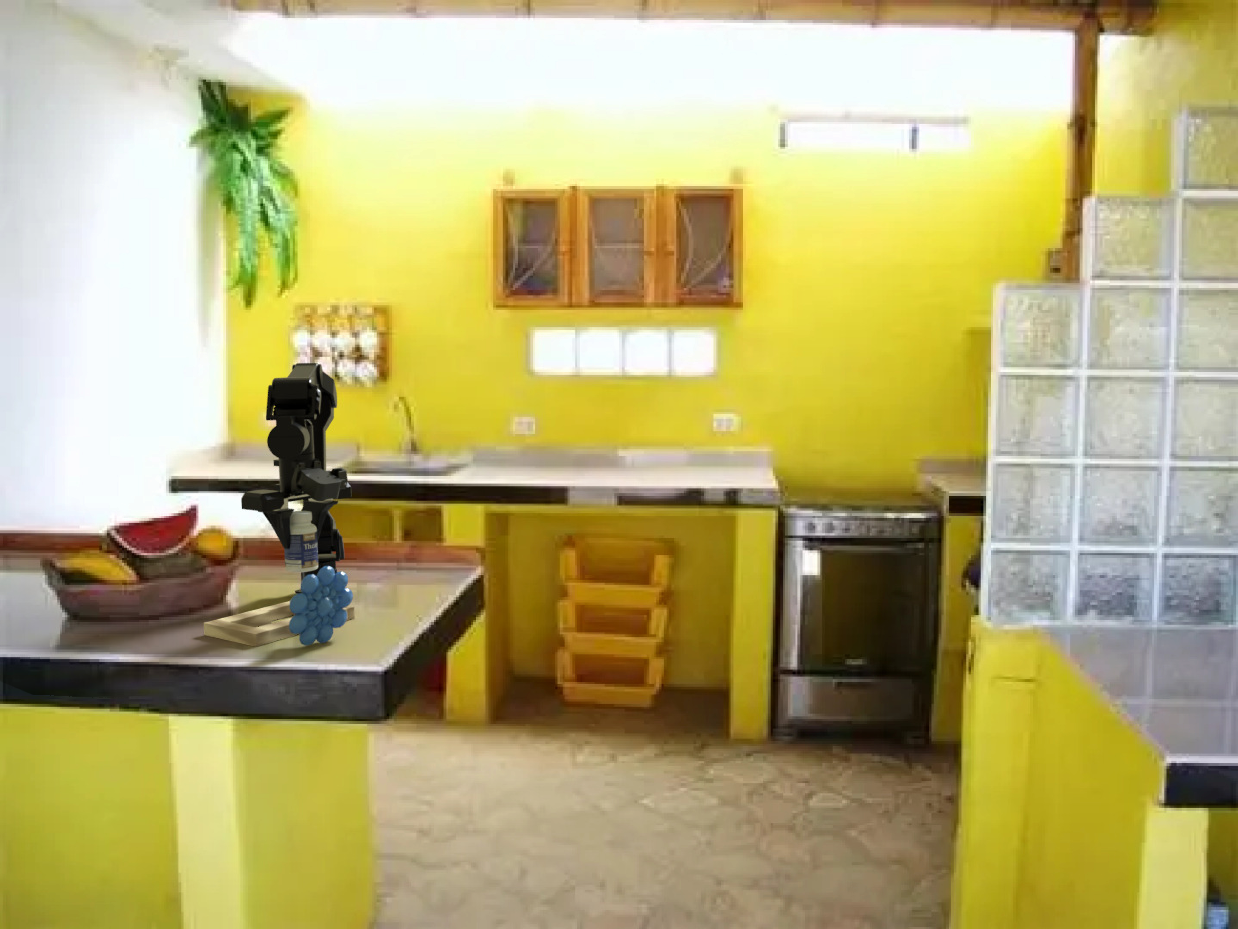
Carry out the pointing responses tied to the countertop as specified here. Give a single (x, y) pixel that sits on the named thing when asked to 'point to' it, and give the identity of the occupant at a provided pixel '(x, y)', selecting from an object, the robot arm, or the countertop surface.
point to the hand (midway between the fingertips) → (300, 545)
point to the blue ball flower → (320, 606)
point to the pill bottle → (302, 543)
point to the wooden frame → (245, 623)
